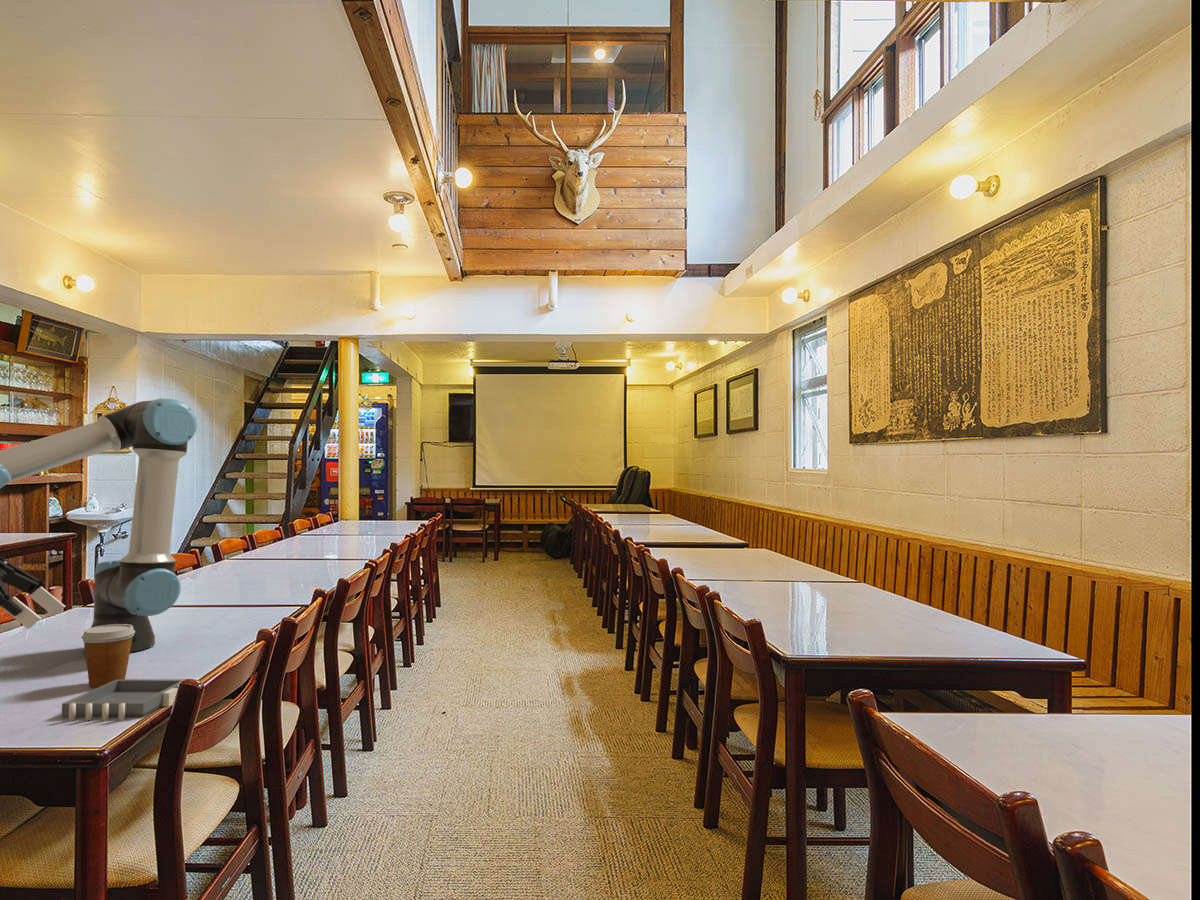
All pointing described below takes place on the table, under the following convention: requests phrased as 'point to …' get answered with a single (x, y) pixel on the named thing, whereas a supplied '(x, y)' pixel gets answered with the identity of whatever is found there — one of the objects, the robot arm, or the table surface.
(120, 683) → the grey tray
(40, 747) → the table surface
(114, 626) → the disposable coffee cup
